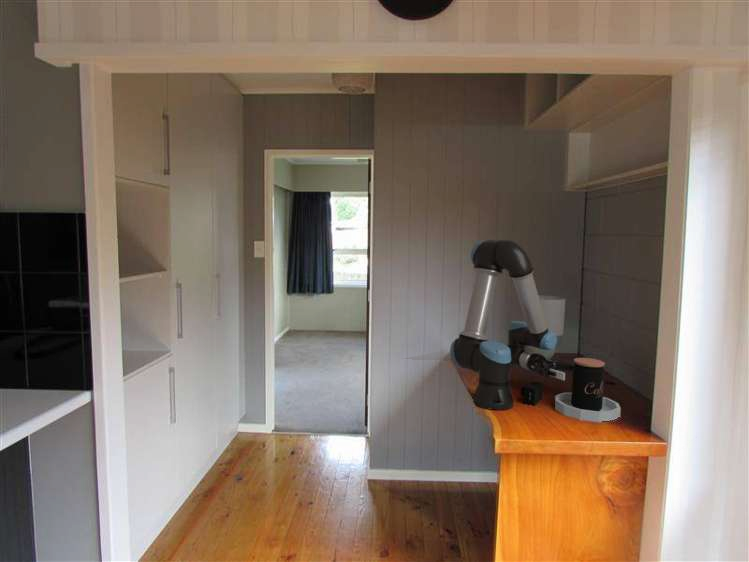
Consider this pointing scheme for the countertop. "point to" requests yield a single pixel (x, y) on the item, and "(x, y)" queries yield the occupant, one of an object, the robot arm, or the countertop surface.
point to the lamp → (551, 320)
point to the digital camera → (532, 393)
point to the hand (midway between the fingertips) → (576, 374)
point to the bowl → (605, 414)
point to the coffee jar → (587, 384)
